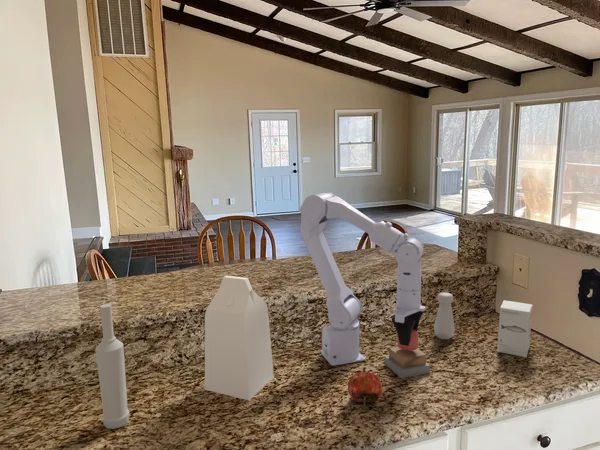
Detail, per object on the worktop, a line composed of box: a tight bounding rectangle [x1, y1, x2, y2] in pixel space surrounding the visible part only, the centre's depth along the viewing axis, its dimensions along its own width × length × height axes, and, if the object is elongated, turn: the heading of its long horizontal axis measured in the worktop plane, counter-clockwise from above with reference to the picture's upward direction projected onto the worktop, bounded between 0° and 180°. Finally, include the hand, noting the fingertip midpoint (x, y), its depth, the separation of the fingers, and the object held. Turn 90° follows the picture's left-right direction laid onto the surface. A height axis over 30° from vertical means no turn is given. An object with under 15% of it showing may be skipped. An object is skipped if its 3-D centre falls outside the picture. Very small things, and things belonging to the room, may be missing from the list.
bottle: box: [95, 303, 130, 430], centre depth 92 cm, size 5×5×25 cm
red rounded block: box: [396, 329, 419, 350], centre depth 113 cm, size 5×5×4 cm
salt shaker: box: [433, 291, 456, 340], centre depth 132 cm, size 6×6×13 cm
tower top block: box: [388, 346, 427, 369], centre depth 114 cm, size 6×6×2 cm
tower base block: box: [384, 355, 431, 379], centre depth 114 cm, size 8×8×2 cm
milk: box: [204, 275, 275, 401], centre depth 107 cm, size 12×12×26 cm
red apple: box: [347, 366, 384, 413], centre depth 99 cm, size 7×7×10 cm
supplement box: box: [496, 299, 534, 358], centre depth 122 cm, size 7×7×13 cm
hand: (407, 340), depth 113 cm, fingers closed on red rounded block, 5 cm apart
